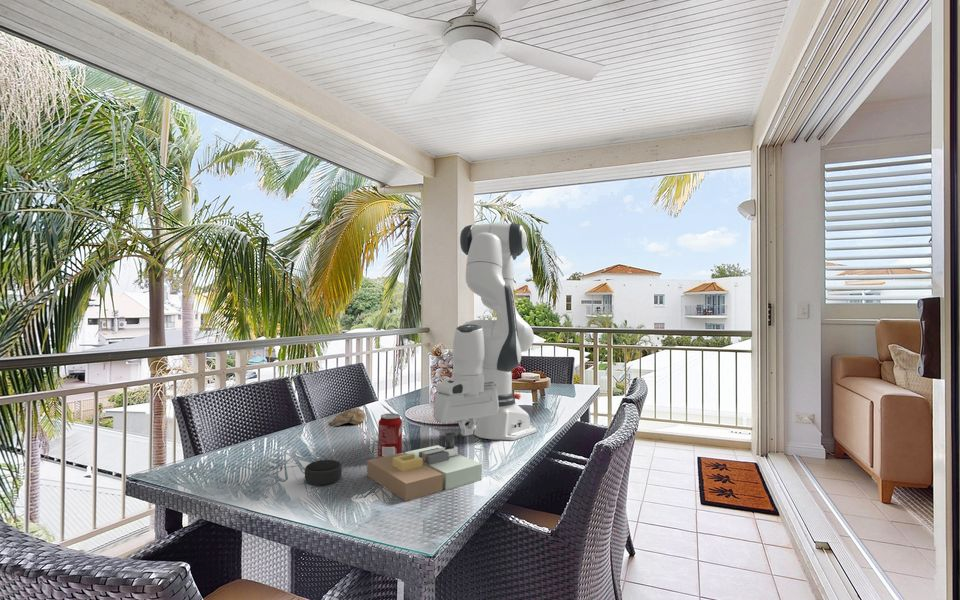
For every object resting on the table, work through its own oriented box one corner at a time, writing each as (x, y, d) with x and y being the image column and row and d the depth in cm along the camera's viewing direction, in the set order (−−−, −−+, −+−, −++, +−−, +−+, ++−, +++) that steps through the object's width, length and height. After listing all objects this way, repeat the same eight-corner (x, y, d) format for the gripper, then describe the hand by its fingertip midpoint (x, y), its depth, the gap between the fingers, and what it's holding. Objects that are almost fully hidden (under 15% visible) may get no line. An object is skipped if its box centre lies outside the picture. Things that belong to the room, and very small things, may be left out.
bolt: (453, 452, 132) (453, 430, 132) (458, 454, 131) (458, 432, 131) (421, 459, 126) (421, 436, 126) (426, 462, 124) (426, 438, 124)
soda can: (396, 461, 137) (397, 419, 137) (374, 459, 139) (374, 417, 139) (405, 454, 144) (405, 413, 144) (383, 452, 145) (384, 412, 145)
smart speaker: (348, 476, 126) (348, 460, 126) (329, 489, 118) (329, 472, 118) (317, 472, 128) (318, 457, 128) (297, 484, 120) (297, 468, 120)
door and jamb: (437, 459, 140) (438, 438, 140) (481, 479, 124) (481, 456, 124) (366, 475, 126) (367, 452, 126) (405, 501, 111) (406, 474, 111)
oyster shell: (330, 421, 182) (330, 408, 182) (364, 419, 186) (365, 406, 186) (330, 428, 173) (330, 414, 173) (366, 425, 177) (366, 412, 177)
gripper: (489, 379, 143) (488, 427, 142) (430, 385, 130) (429, 437, 130) (504, 382, 138) (503, 431, 138) (444, 389, 125) (443, 443, 125)
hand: (467, 434), depth 134 cm, fingers closed
